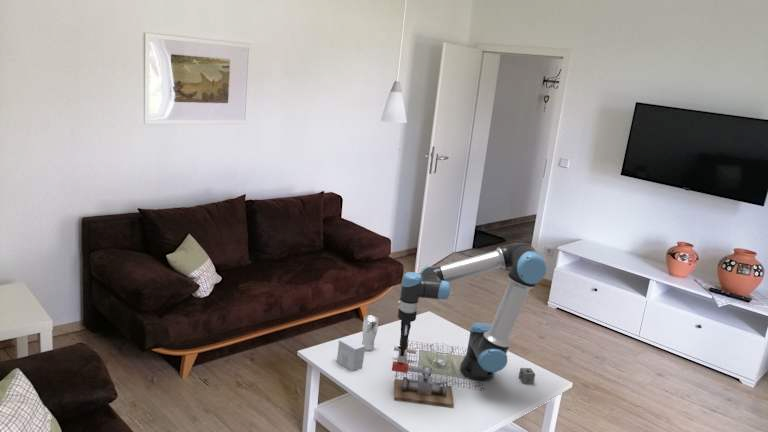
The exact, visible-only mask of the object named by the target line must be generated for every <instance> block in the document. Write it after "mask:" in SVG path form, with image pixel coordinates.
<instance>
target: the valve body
mask: <svg viewBox="0 0 768 432" xmlns="http://www.w3.org/2000/svg"><path fill="white" fill-rule="evenodd" d="M402 380H403V382H402V391H406V390H412V391H417V394H421V395H429V396H431V393H436V394H442V396H446V394H447V385H448V381H447V382H446V381H442V382H435V381H433V376H432V375H431V376H429V377H426V376H423V375H422V374H418V376H417V379H413V378H408V376H403V377H402Z"/></svg>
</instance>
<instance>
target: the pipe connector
mask: <svg viewBox="0 0 768 432" xmlns="http://www.w3.org/2000/svg"><path fill="white" fill-rule="evenodd" d="M407 344H408V346H407V347H406V348H407V349H406V352H405V360H404V362H405V361H406V360H407V355H408V353H410V354H414V355H415V354H417V349H414V348H409V339H408V341H407ZM393 350H394V351H397V352H399V348H398V346H395V345H394V348H393Z"/></svg>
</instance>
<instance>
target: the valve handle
mask: <svg viewBox="0 0 768 432" xmlns="http://www.w3.org/2000/svg"><path fill="white" fill-rule="evenodd" d="M432 370H433V368H432V367H431V366H429V365H423V367H422V366H414V365H409V363H407V362H404V363H403V362H398V361H393V360H392V366H391V371H392V372H397V373H398V372H399V373H404V374H407V373H408V372H411V373H417V374H421V375H423V376H426V377H429V376H431V377H432Z"/></svg>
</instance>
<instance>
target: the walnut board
mask: <svg viewBox="0 0 768 432" xmlns="http://www.w3.org/2000/svg"><path fill="white" fill-rule="evenodd" d="M402 382H403V379H400V378H394V382H393V383H394V390H393V394H394V395H393V400H394V401H397V402H407V403H414V404H420V405H421V404H422V405H430V406H437V407H446V408H452V409H453V408H454V406H455V401H454V397H453V394H454V393H453V388H452V385H448V384H447V394H446V396H442V394H436V393H431V396H429V395H421V394H417V391H412V390H406V391H402Z"/></svg>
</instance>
